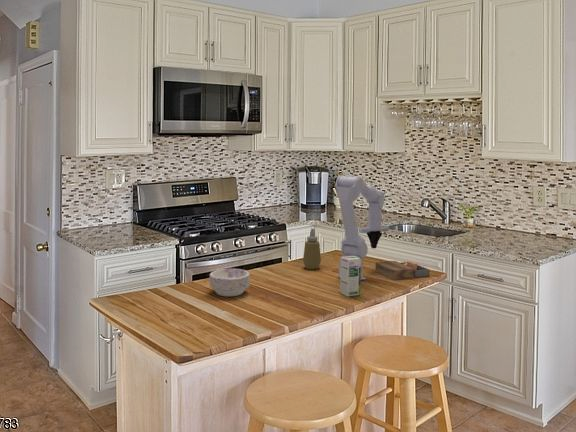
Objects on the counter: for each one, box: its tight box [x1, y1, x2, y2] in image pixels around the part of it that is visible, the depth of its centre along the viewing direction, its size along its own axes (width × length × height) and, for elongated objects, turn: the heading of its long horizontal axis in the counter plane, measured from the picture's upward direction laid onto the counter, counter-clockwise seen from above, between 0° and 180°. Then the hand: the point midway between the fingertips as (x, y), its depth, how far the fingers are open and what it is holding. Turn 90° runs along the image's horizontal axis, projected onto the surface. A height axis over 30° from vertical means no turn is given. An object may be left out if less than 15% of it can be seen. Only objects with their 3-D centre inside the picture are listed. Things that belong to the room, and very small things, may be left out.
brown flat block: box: [375, 260, 415, 281], centre depth 248 cm, size 10×15×4 cm, turn 21°
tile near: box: [406, 260, 418, 271], centre depth 248 cm, size 5×5×2 cm
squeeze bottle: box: [302, 228, 322, 270], centre depth 256 cm, size 8×8×18 cm
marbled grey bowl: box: [209, 268, 251, 297], centre depth 218 cm, size 15×15×8 cm
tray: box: [400, 261, 430, 279], centre depth 252 cm, size 7×15×3 cm, turn 21°
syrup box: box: [339, 256, 362, 298], centre depth 218 cm, size 6×6×14 cm
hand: (373, 248), depth 255 cm, fingers closed
